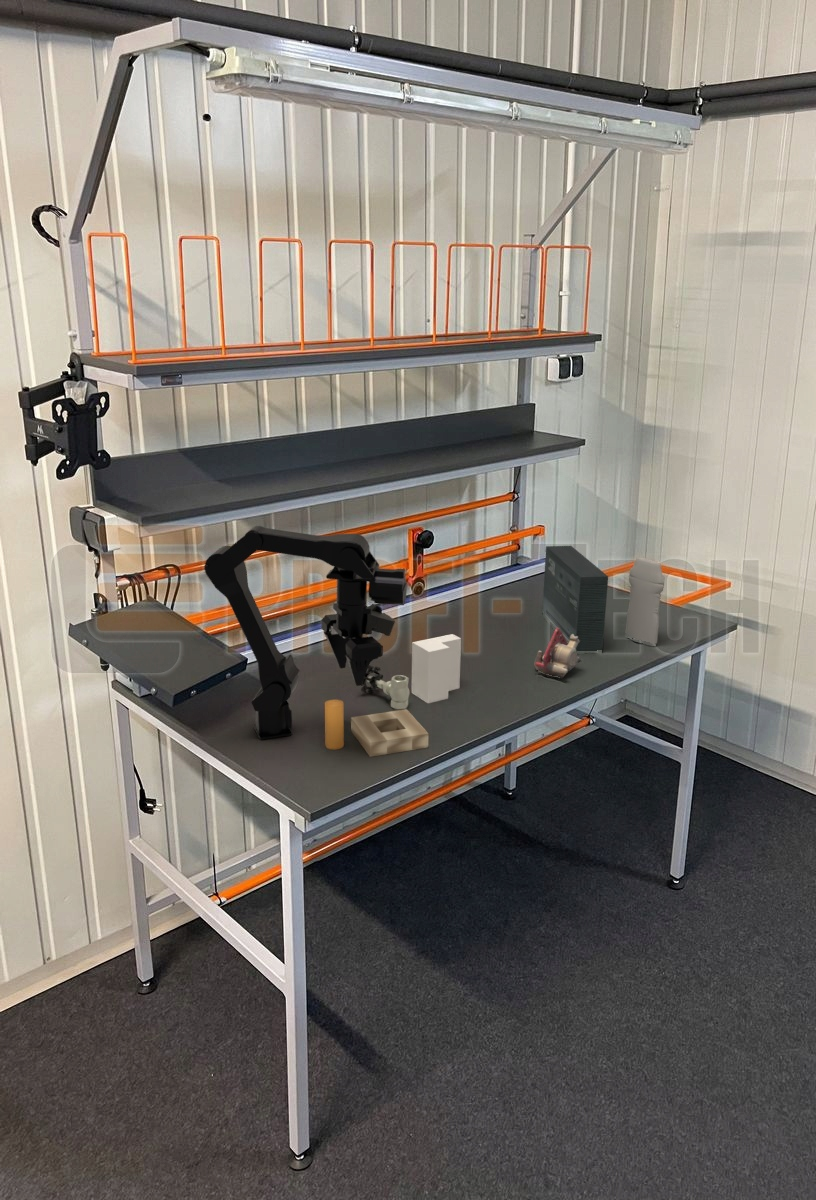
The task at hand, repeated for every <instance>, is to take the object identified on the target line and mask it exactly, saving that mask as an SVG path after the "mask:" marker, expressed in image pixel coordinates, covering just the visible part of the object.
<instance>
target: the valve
mask: <svg viewBox="0 0 816 1200" xmlns="http://www.w3.org/2000/svg"><path fill="white" fill-rule="evenodd" d="M380 672H381V667H380V666H377V665H376V666H373V665H370V664H369V666H368V669H367V671H366V674H365V677H364V680H363V682H362V685H360V686H362V687H361V689H360V692H362V693H363V694H367V693H368V694H370V695H372V694H374V692H375V690H376V689H382V690H383V693H384V694H386V695H387V696H390V698H391V699H390V707H391V708H393V709H394V710H404V709H407V708H408V706H409V698H410V688H409V680H410V678H409V677H407V676H406V675H403V674H402V675H401V674H396V675H393V676H392V677H391V678H390V679H391V680H388V681H385V680H382V679H383V678H384V675H383V674H382V673H380ZM372 673H373V674H374V675H370V674H372ZM366 681H367V682H366ZM367 683H368V684H369V686H368V685H367Z"/></svg>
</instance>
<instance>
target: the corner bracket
mask: <svg viewBox="0 0 816 1200" xmlns="http://www.w3.org/2000/svg"><path fill="white" fill-rule="evenodd" d="M461 649H462V638H461V637H459V636H457V635H455V634H453V633H451V634H446V635H442V636H437V637H432V638H428V639H427V638H426V639H422V640H417V641H412V643H411V654H412V655H411V694H412V695H415V696H416V697H417V698H419V699H420V700H422V701H424V702H425V703H426V704H431V703H436V702H439V701H444V700H448V699H449V692H450V691H454V690H458V689H460V683H461V682H460V681H461V678H460V677H461V676H460V675H461V653H462V650H461Z"/></svg>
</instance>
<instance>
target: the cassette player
mask: <svg viewBox="0 0 816 1200" xmlns="http://www.w3.org/2000/svg"><path fill="white" fill-rule="evenodd" d="M544 561H545V562H544V576H543V594H542V608H541V609H542V610H541V613H542V612H543V613H544V614H545V616H546V617H547V618H548V620H549V621H550V622H551V623H552V624H553V626H554V627H555V628H559V629H560V631H561V632H562V634H563V635H564V637H565V639H566V641H567V642H568V643H569V641H570V636H571V635H572V634H574V636H575V637H576V636H578V639H579V641H580V642H579V643H578V645H577V647H576V651H597V650H602V651H603V644H604V634H605V633H604V632H605V622H606V608H607V598H608V597H607V596H608V585H609V584H608V583H609V575H607V574H606V573H605V572H604V571H602V570H601V569H600V568H599V567H598V566H596V565H595V564H594V563H592V561H591V560H589V559H588V558H586V556H584V555H583V554H582V553H581V552H579V551H578V550H577V549H575V547H573V546H572V545H549V546H547V545H546V547H545V560H544Z"/></svg>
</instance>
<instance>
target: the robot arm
mask: <svg viewBox="0 0 816 1200" xmlns="http://www.w3.org/2000/svg"><path fill="white" fill-rule="evenodd" d="M257 551H261V552H268V553H276V554H283V555H290V556H296V557H303V558H309V559H316V560H320V561H323V562H324V563H326V564H327V565H329V566H331V567H333V568H332V569H330V570H329V571H328V573H326V576H325V577H326V578H325V579H327V580H336V603H334V602H333V604H332V608H333V610H335V612H336V613H332V614H325V615H324V616H323V617H322V619H321V620H320V621H321V624H320V626H321V630H322V631H323V635H324V636H325V638H326V640H327V642H328V645H329V647H330V649H331V651H332V654H333V656H334V658H335V661H336V664H337V665H338V667H339V668H340V669H345V668H346V667H347V666H346V665H347V664H348V666H349V669H350V673H351V675H352V679H353V682H354V684H355V686H357V687H358V686H361V685H362V682H363V680H364V677H365V674H366V672H367V671H368V666H369V665H370V664H371V662H372V661H374V660H377V659H379V658H382V657H383V655H384V646H383V645H382V644H381V643H380V642H379V641H378V640H377V639H376V638H374V636H367V635H373V632H374V633H379V634H383V635H384V636H385V637H391V634H392V631H393V628H394V626H395V623H396V620H395V619H394V618H393V617H391V616H390V615H388V614H386V613H385V612H383V609H382V607H381V606H380V605H379V604H381V605H392V606H393V605H394V606H405V605H406V599H407V590H408V589H407V588H408V583H407V579H406V578H407V577H406V570H405V569H404V568H395V569H393V568H380V563H379V562H378V561H377V560H376V557H375V556H374V554H372V553H371V551H370V545H369V542H368V540H367V539H366V538H365V537H364V536H363V535H361V534H359V533H339V534H338V533H337V534H332V535H331V534H330V535H317V534H309V533H302V532H295V531H289V530H281V529H274V528H268V527H264V526H262V525H255V526H253V527H252V528H250V529H249V530H248V531H247V532H246V533H245V534H244V535H243V536H242V537H241V538H240V539H239V540H237V541H235V542H234V543H233V544H232V545H224V546H221V547H219V548H218V549H216V551H215V552H213V553H211V554H210V556H208V557H207V559H206V561H205V562H204V567H203V568H204V572H205V575H206V576H207V578H208V579H209V581H210V582H211V584H212V585H213V586H214V588H215V589H216V590H217V591H218V592H219V593H220V594H222V595H223V596H224V597H225V598H226V599H227V601H228V602H229V605H230V607H231V610H232V612H233V614H234V616H235V618H236V620H237V622H238V624H239V626H240V628H241V630H242V632H243V636H245V638H246V641H247V643H248V645H249V648H250V649H251V651H252V654H253V656H254V658H255V660H256V661H257V666H258V667H257V668H258V669H257V670H258V677H259V678H258V679H259V683H260V689H259V690H258V692H257V693H256V694H255V696H254V698H253V699H252V701H251V705H252V707H253V710H254V712H255V713H254V714H255V718H254V719H255V724H253V729H254V730H255V733H256V735H257V736H258V738H259V739H260V740H267V739H274V738H275V739H276V738H280V737H289V736H291V735H293V734H292V733H293V732H292V730H291V729H292V728H293V716H292V715H293V713H292V712H293V711H292V709H291V707H290V704H289V702H288V700H289V699H290V698H291V696H292V694H293V692H294V691H295V689H296V688H297V685H298V683H299V681H300V678H299V673H300V671H301V670H300V669H299V668H298V667H297V665H296V664H295V661H294V657H293V655H292V654H288V655H287V656H285V655H283V654H282V652H280V651H279V649H278V647H277V645H276V643H275V641H274V639H273V637H272V635H271V632H270V631H269V628H268V626H267V624H266V622H265V620H264V618H263V616H262V613H261V611H260V609H259V606H258V605H257V602H256V600H255V598H254V597H253V594H252V592H251V589H250V588H249V581H248V580H249V579H248V571H247V567H246V562H245V561H246V560H247V559H248V558H249V557H251V556H252V555H253V554H254V553H256V552H257ZM367 595H368V596H369V598H370V600H371V602H374V603H371V604H370V606H368V605H367V603H368V602H367V601H368V599H367V598H368V596H367ZM364 635H365V637H364Z"/></svg>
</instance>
